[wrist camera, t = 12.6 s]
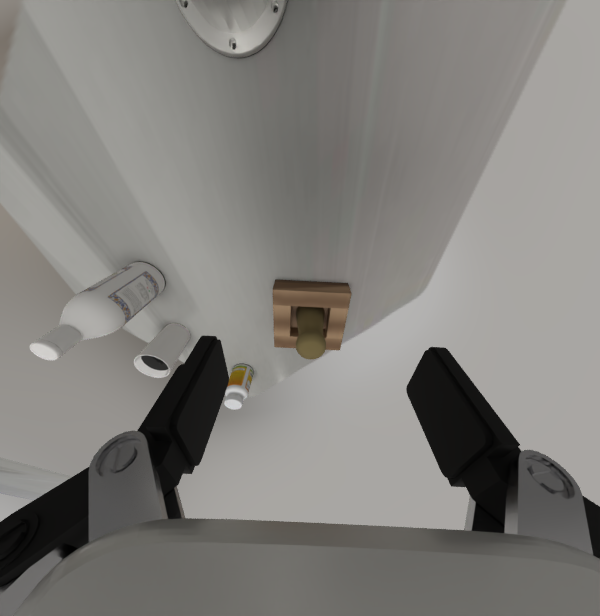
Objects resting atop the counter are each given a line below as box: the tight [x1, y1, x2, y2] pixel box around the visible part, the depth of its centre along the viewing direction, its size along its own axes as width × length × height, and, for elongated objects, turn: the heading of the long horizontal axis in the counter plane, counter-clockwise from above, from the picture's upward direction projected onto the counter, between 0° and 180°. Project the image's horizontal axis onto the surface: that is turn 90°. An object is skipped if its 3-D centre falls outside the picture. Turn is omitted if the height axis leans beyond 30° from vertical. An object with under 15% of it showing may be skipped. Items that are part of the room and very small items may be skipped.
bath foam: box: [30, 262, 165, 360], centre depth 34 cm, size 7×7×20 cm
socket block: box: [273, 280, 351, 350], centre depth 44 cm, size 14×14×4 cm
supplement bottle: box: [224, 364, 253, 409], centre depth 52 cm, size 5×5×10 cm
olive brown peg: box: [296, 306, 326, 359], centre depth 40 cm, size 6×6×11 cm
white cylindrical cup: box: [134, 323, 191, 378], centre depth 46 cm, size 7×7×10 cm
